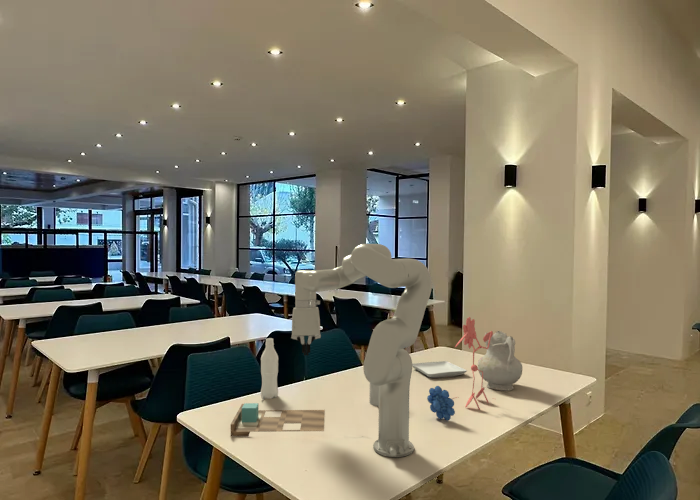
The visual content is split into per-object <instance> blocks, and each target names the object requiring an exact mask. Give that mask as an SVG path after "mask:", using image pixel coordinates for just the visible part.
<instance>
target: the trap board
mask: <svg viewBox="0 0 700 500" xmlns="http://www.w3.org/2000/svg"><path fill="white" fill-rule="evenodd" d="M243 405H244V403H241V405H240V407H239V409H238V410H237V412H236V414H235V416H234V417H233V419H232V421H231V423H230V437H249V435H250V433H253V432H257V433H258V432H268V433H269V432H270V433H271V432H324V431H325V417H326V416H325V414H326V413H325V411H326V410H325V409H273V410H272V409H269V410H266V409H263V410H261V409H260V410H259V409H258V419H257V421H256V422H242V407H243ZM266 412H280V416H265V415H266ZM284 424H300V429H284V426H285V425H284Z"/></svg>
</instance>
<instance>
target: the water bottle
mask: <svg viewBox="0 0 700 500" xmlns="http://www.w3.org/2000/svg"><path fill="white" fill-rule="evenodd" d="M274 345H275V343H274V338H272V337H269V338H266V339H265V348H264V350H263V351H262V354H261V357H260V374H261V388H260V396H261V399H262V401H265V399H273V398H277V397H278V396H279V389H278V388H279V386H278V373H279V355H278V353H277V351H276V349H275V346H274Z"/></svg>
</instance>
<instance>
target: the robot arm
mask: <svg viewBox="0 0 700 500" xmlns="http://www.w3.org/2000/svg"><path fill="white" fill-rule="evenodd" d="M294 274H295V275H294V276H295V277H294V284H295V285H294V286H295V287H294V289H295V290H294V291H295V293H294V294H295V295H294V296H295V297H294V298H295V302H294V304H295V307H292V308H293V309H292V317H291V337H290V339H292V340H296V341H298V342H299V343H300V344H301V353H302V354H303V356H304V357H305V356H309V354H311V344H312V343H313V341H314V340H317V339H321V337H322V335H321V319H320V310H319V307H318V305H321V300H318V299H317V293H318V292H327V291H335V290H338V289H341V288H344V287H347V286H350V285H352V284H353V283H355V282H356V281H357V280H359V279H363V278H364V277H367V278H369V279H371V280H373V281H374V282H376V283H378V284H380V285H381V286H383V287H386V288H388V289H389V288H391V289H396V288H403V287H405V288H404V291H403V292H402V293H401V295H400V297H399V299H398V302H397V306H396V309H395V310H394V313H393V316H392V317H391V318H388V319H385V320H383V321H380V322H379V323H378V324H377V325H376V326H375V327H374V328H373V331H372V333H371V336H370V339H369V343H368V346H367V350H366V354H365V358H364V361H363V367H362V368H363V369H362V370H363V374H364V377H365V379H366V381H367V382H368V383H369V384H370V383H371V384H373V385H380V388H379V406H378V438H377V440H375V441H374V442H373V445H372V446H373V450H374V452H376V454H378V455H381V456H385V457H387V458H388V457H389V458H403V457H407V456H410V455H411V454H412V453H413V452H414V450H415V448H414V447H415V445H414V443H413V442H411V441H410V385H411V378H412V372H413V367H412V364H413V359H412V357H411V355H410V353H409V352H408V351H407V350H406V348H408V347H411V346H412V345H414V343H416V341H417V338H418V336H419V333H420V329H421V325H422V321H423V319H424V315H425V313H426V312H425V311H426V308H427V305H428V302H429V299H430V296H431V292H432V288H433V281H432V280H433V279H432V276H431V273H430V271H429V269H428V267H427V266H426V265H425V264H424V263H423V262H421V261H420V260H417V259H415V258H408V257H407V258H392V252H391V250H390V249H389V248H388V247H387V246H386V245H384V244H380V243H361V244H358V245H357V246H355V247H354V248H353V250H352V251H351V254H349V255H346V256H345V257H343V258H342V261H341V265H340V266H338V267H335V268H332V269H331V268H330V269H316V270H311V269H305V270H304V269H303V270H302V269H300V270H297V271H296V272H295V273H294ZM305 337H308V339H307V341H305Z"/></svg>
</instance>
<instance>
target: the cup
mask: <svg viewBox="0 0 700 500" xmlns="http://www.w3.org/2000/svg"><path fill="white" fill-rule="evenodd" d="M379 388H380V385H373V384H371V383H370V382H369V404H370V405H371V406H375V407H379Z"/></svg>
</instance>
